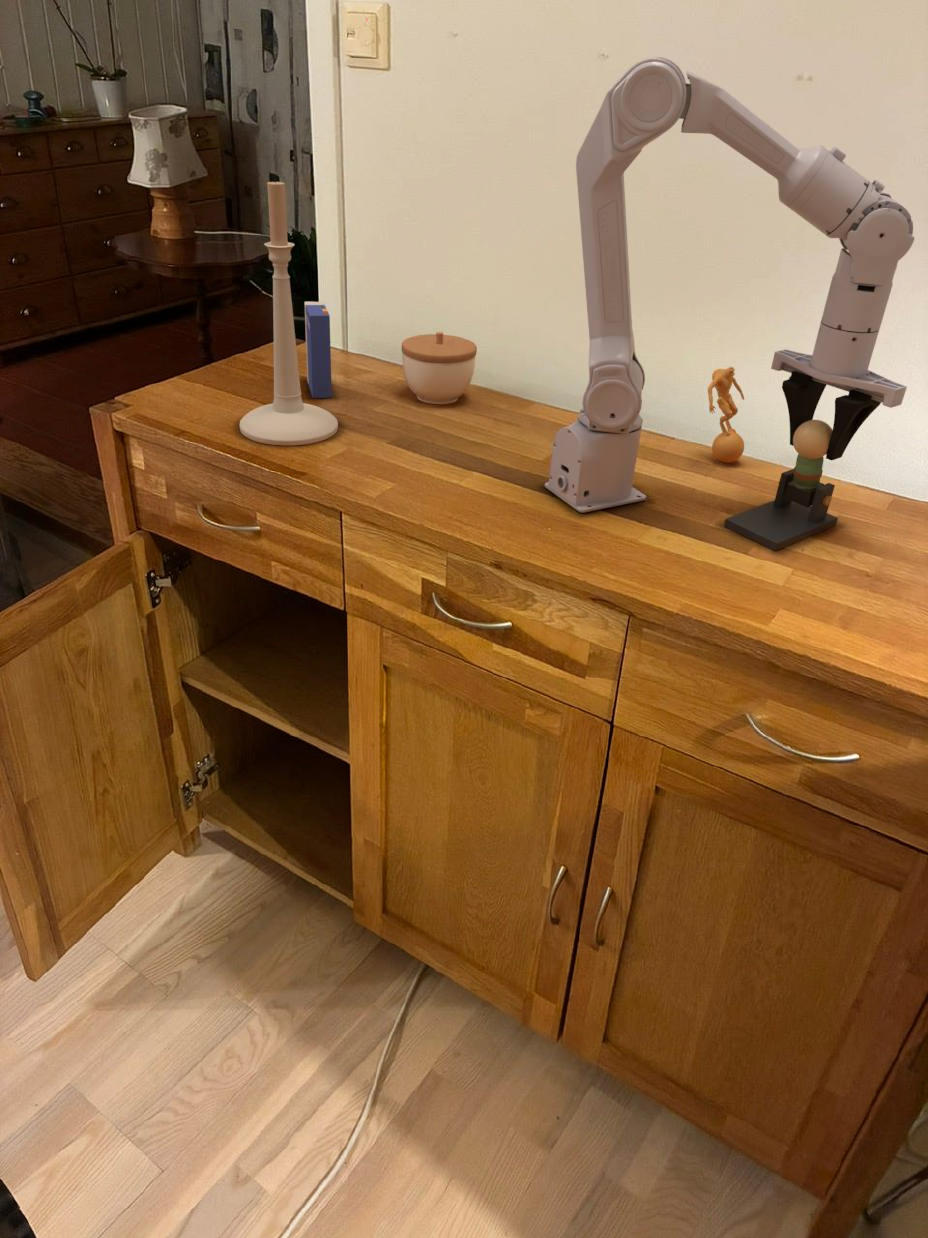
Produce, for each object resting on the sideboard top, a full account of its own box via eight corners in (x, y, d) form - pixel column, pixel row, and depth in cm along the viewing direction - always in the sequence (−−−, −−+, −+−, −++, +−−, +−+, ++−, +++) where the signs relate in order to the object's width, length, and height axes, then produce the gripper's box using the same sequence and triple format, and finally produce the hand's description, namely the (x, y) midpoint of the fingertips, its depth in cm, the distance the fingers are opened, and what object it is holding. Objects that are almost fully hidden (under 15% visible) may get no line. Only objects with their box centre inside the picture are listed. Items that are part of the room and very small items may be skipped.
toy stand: (775, 551, 98) (786, 509, 96) (723, 526, 103) (732, 485, 100) (836, 525, 104) (848, 485, 102) (784, 502, 109) (794, 463, 106)
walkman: (332, 397, 132) (329, 312, 125) (312, 398, 131) (309, 312, 125) (325, 380, 138) (323, 298, 132) (307, 380, 138) (303, 298, 131)
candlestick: (294, 453, 114) (280, 189, 98) (219, 429, 119) (194, 176, 103) (357, 424, 123) (354, 179, 107) (284, 404, 129) (271, 167, 113)
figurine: (722, 474, 115) (743, 380, 109) (681, 460, 119) (698, 368, 112) (753, 457, 121) (775, 367, 114) (713, 444, 124) (731, 356, 118)
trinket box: (473, 411, 130) (477, 345, 125) (398, 407, 130) (399, 341, 125) (474, 387, 139) (477, 324, 134) (403, 383, 139) (404, 320, 134)
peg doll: (807, 512, 102) (821, 434, 96) (776, 499, 105) (787, 422, 99) (830, 498, 104) (845, 421, 98) (799, 485, 106) (811, 409, 100)
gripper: (937, 338, 91) (895, 465, 98) (811, 304, 100) (782, 423, 108) (899, 347, 87) (859, 479, 94) (772, 312, 97) (744, 434, 104)
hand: (815, 450), depth 101 cm, fingers closed on peg doll, 4 cm apart
